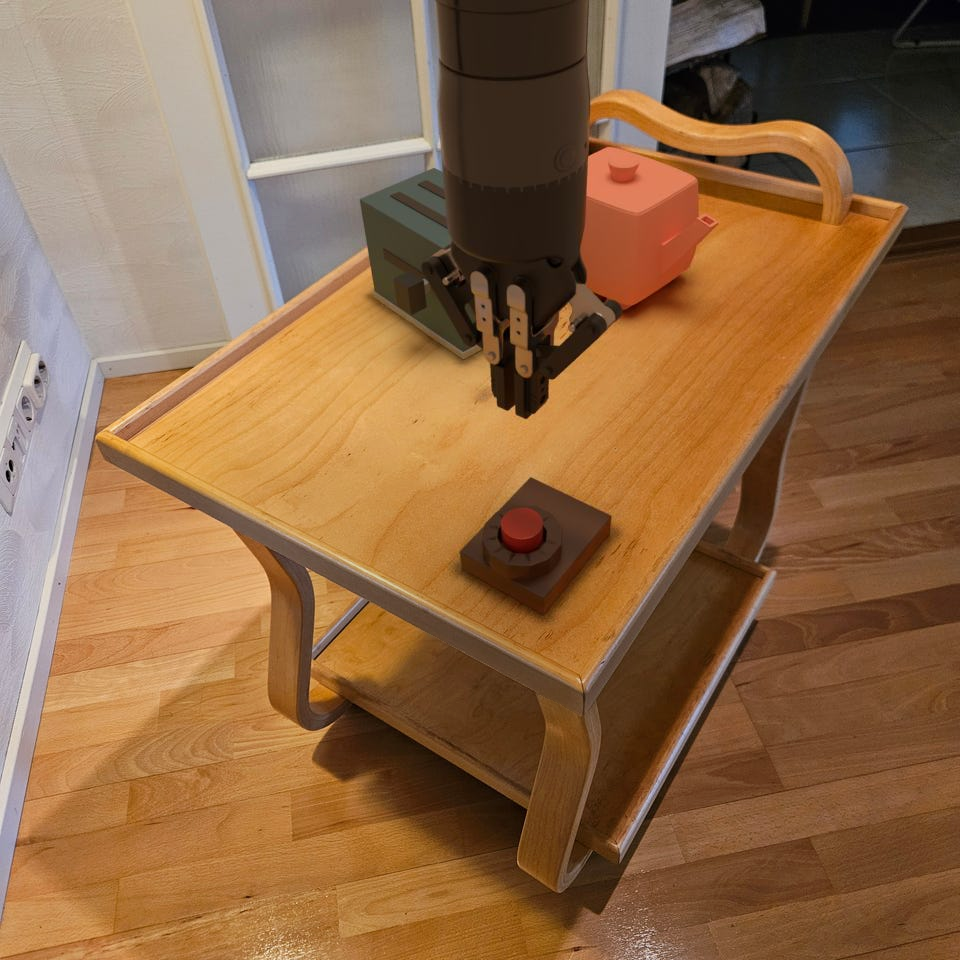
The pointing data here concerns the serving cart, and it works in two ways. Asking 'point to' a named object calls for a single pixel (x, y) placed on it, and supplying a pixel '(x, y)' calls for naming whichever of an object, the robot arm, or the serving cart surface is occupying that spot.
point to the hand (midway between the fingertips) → (519, 405)
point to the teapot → (638, 225)
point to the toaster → (411, 249)
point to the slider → (411, 292)
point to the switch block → (554, 562)
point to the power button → (522, 530)
